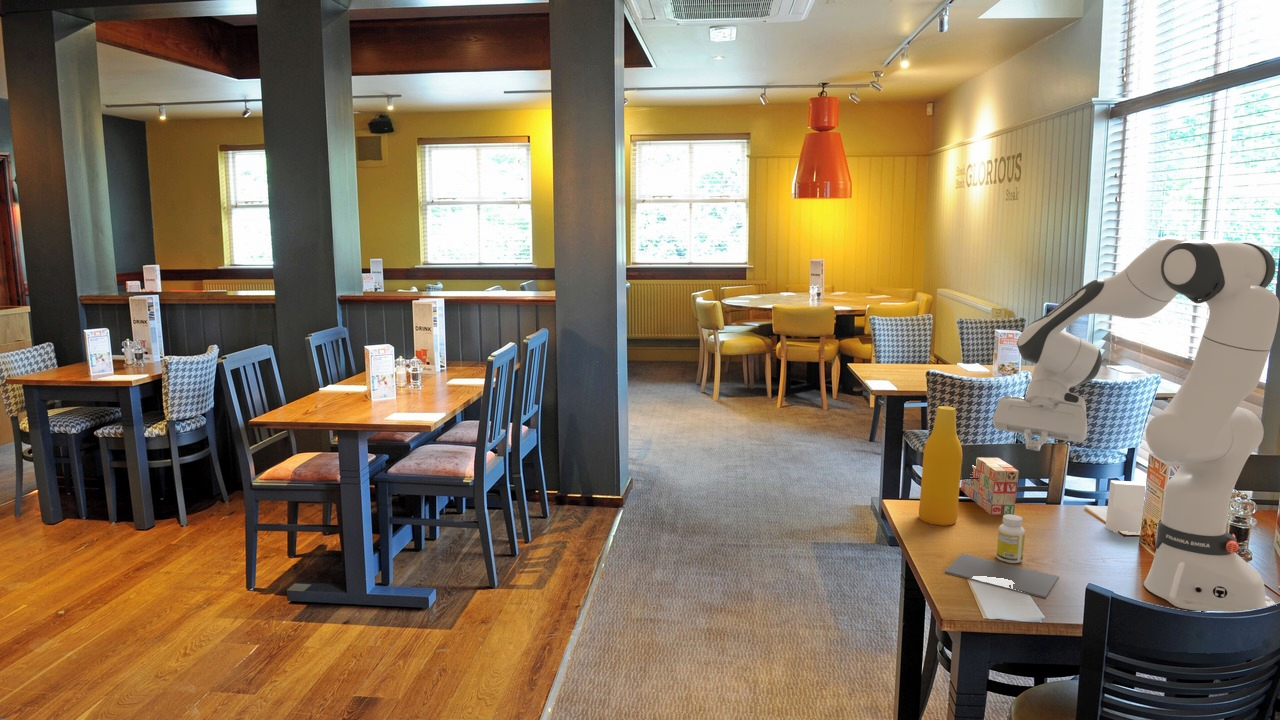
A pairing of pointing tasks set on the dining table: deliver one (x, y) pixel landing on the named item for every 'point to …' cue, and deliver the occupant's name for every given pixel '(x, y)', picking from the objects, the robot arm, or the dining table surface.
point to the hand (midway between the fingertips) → (1032, 448)
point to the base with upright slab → (1125, 506)
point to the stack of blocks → (992, 486)
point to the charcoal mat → (1004, 574)
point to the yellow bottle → (941, 471)
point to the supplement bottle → (1011, 539)
